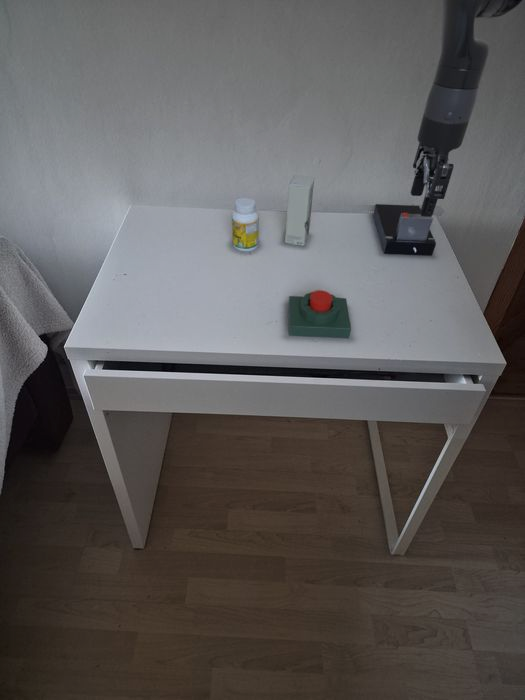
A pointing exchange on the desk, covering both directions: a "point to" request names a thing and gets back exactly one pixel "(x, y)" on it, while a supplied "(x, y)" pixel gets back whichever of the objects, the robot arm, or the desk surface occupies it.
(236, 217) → the supplement bottle
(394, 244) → the black rectangular base
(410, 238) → the grey and red bar
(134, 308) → the desk surface
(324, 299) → the button
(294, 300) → the button box
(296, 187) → the box
